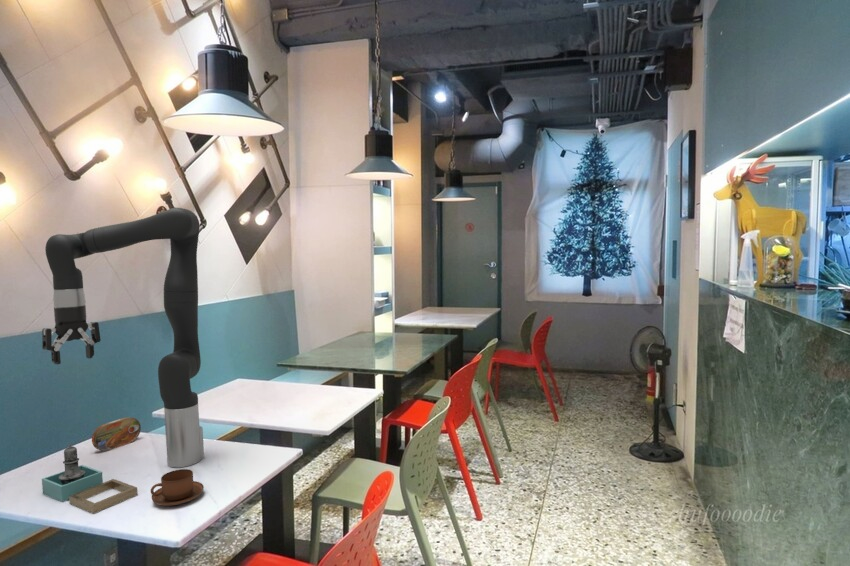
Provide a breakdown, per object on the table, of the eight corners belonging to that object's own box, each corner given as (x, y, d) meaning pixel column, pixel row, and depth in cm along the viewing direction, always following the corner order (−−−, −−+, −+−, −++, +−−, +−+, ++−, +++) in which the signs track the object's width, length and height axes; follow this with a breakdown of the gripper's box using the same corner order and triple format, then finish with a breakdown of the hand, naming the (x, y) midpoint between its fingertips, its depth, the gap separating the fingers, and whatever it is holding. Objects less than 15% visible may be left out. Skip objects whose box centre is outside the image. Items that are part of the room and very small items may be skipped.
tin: (96, 455, 165) (95, 428, 164) (90, 453, 166) (89, 427, 166) (142, 439, 178) (140, 414, 178) (136, 437, 180) (134, 413, 179)
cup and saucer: (170, 514, 126) (168, 489, 126) (142, 503, 133) (140, 479, 132) (213, 494, 136) (212, 471, 136) (185, 484, 143) (184, 462, 142)
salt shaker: (84, 489, 139) (80, 445, 138) (57, 494, 137) (53, 449, 136) (88, 481, 144) (84, 438, 144) (62, 485, 142) (59, 441, 141)
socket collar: (113, 486, 142) (113, 478, 142) (137, 494, 137) (137, 487, 137) (69, 503, 133) (69, 495, 133) (93, 513, 127) (92, 505, 127)
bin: (83, 478, 147) (82, 464, 147) (103, 486, 142) (102, 471, 142) (42, 493, 139) (41, 478, 138) (62, 502, 134) (61, 486, 133)
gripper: (89, 301, 158) (92, 355, 159) (34, 307, 146) (39, 364, 147) (102, 302, 154) (106, 357, 156) (48, 308, 142) (52, 367, 143)
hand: (73, 361), depth 151 cm, fingers open, 8 cm apart
